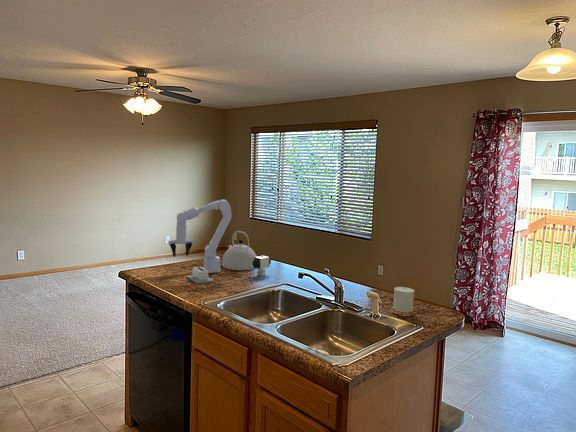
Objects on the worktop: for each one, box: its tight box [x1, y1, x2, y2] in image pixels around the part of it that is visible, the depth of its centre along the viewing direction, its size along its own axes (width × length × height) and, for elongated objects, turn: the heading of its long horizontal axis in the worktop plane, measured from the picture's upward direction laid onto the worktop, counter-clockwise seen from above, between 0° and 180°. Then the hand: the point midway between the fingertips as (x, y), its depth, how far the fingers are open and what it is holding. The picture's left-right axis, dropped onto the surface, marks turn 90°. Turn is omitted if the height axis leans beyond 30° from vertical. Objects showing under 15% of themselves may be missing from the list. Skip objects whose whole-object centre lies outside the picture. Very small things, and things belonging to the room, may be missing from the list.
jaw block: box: [192, 266, 209, 281], centre depth 240 cm, size 5×10×5 cm, turn 33°
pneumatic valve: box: [252, 255, 272, 277], centre depth 258 cm, size 6×12×12 cm, turn 141°
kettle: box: [221, 230, 257, 271], centre depth 278 cm, size 25×23×22 cm
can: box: [392, 286, 415, 312], centre depth 202 cm, size 9×9×12 cm
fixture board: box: [186, 274, 215, 285], centre depth 240 cm, size 10×14×1 cm
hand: (180, 255), depth 254 cm, fingers open, 7 cm apart
